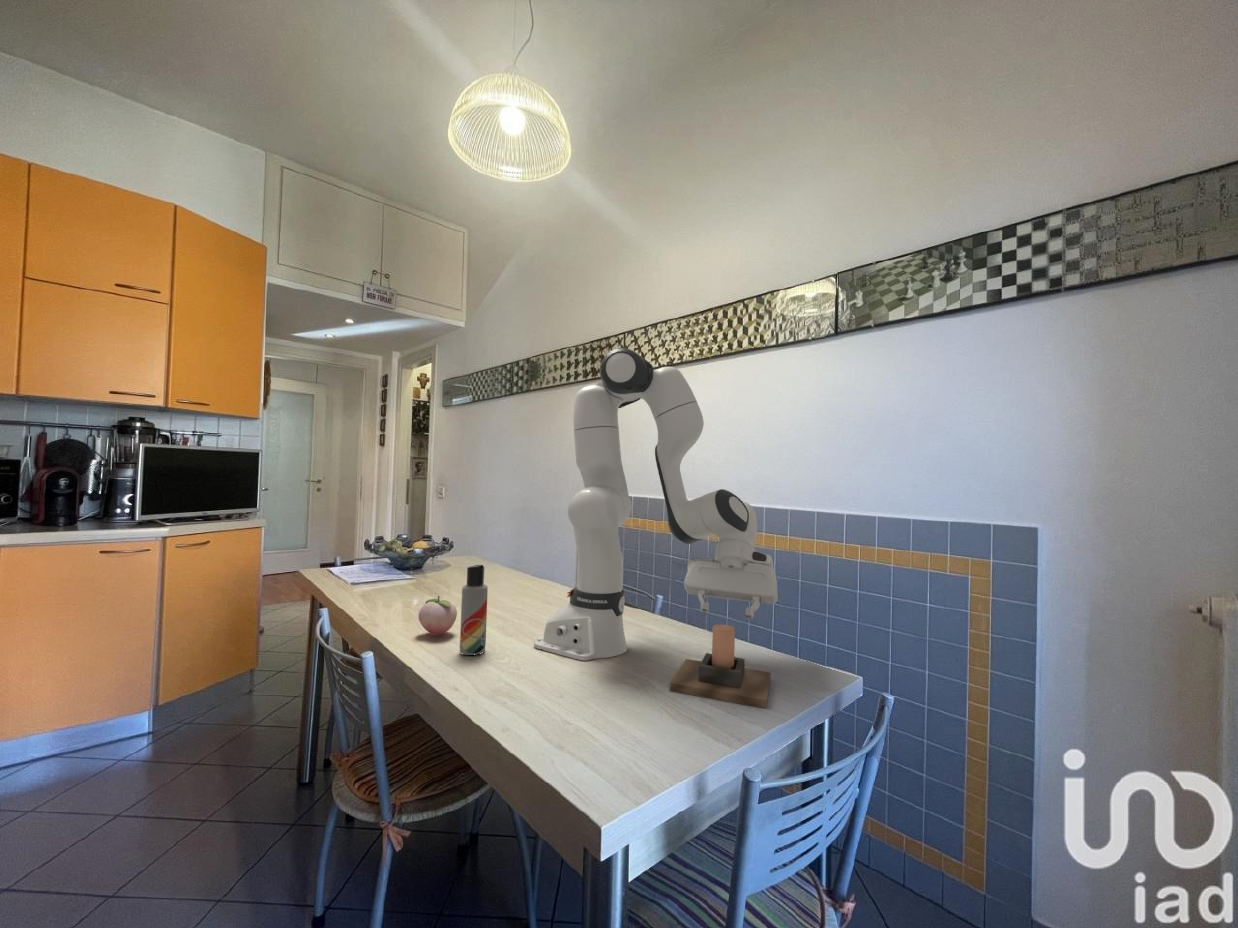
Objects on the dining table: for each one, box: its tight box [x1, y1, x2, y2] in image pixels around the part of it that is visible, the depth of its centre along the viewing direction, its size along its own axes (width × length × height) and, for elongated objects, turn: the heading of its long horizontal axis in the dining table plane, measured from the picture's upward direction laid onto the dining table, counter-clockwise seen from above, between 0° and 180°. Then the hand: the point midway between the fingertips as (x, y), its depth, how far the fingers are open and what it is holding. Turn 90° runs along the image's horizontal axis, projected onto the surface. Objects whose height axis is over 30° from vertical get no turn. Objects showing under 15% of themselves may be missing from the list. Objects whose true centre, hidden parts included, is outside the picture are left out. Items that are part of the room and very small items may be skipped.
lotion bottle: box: [459, 564, 489, 656], centre depth 113 cm, size 6×6×20 cm
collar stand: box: [669, 652, 772, 709], centre depth 98 cm, size 18×14×4 cm
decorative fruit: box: [417, 595, 458, 636], centre depth 123 cm, size 9×8×10 cm
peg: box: [711, 623, 736, 669], centre depth 99 cm, size 4×4×10 cm
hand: (726, 614), depth 104 cm, fingers open, 8 cm apart
